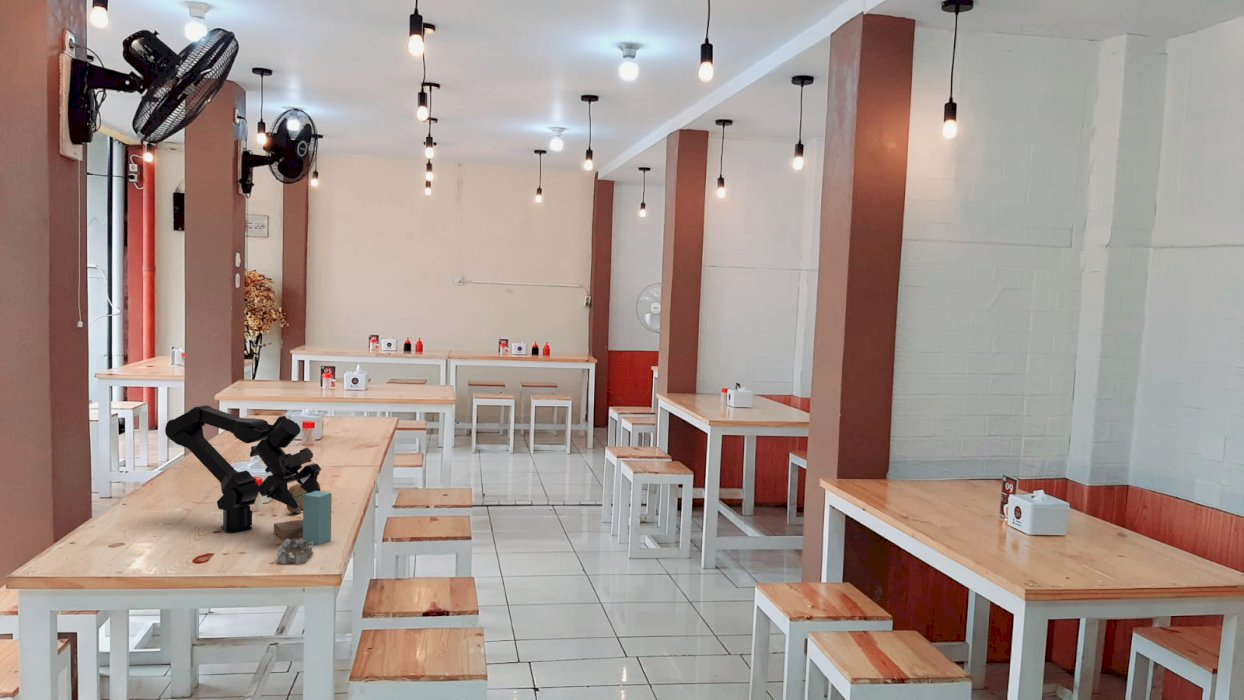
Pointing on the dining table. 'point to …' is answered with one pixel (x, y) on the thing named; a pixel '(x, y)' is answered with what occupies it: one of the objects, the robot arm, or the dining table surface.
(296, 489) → the tin
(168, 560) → the dining table surface
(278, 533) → the walnut plinth
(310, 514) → the teal block
